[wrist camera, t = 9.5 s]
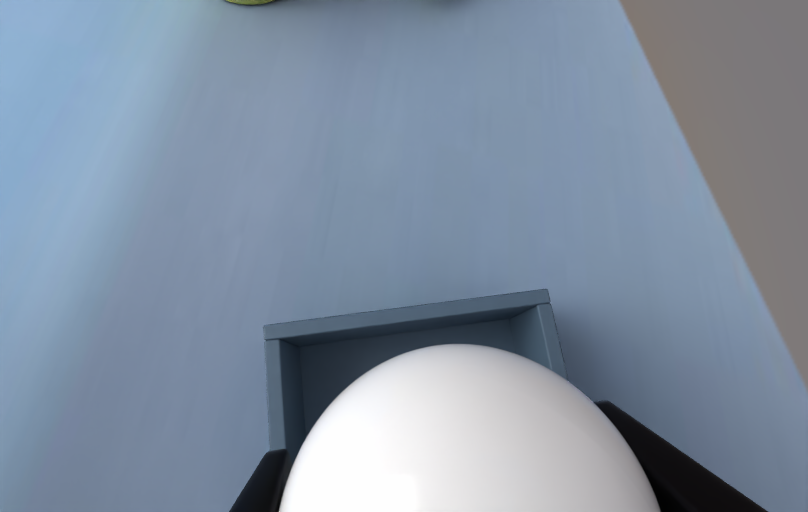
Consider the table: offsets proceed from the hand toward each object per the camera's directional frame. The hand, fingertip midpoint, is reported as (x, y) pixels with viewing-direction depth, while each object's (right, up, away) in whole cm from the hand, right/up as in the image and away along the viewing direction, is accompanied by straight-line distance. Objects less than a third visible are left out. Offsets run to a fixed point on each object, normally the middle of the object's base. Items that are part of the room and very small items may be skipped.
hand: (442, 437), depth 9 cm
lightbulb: (0, -3, +6) cm, 7 cm away
